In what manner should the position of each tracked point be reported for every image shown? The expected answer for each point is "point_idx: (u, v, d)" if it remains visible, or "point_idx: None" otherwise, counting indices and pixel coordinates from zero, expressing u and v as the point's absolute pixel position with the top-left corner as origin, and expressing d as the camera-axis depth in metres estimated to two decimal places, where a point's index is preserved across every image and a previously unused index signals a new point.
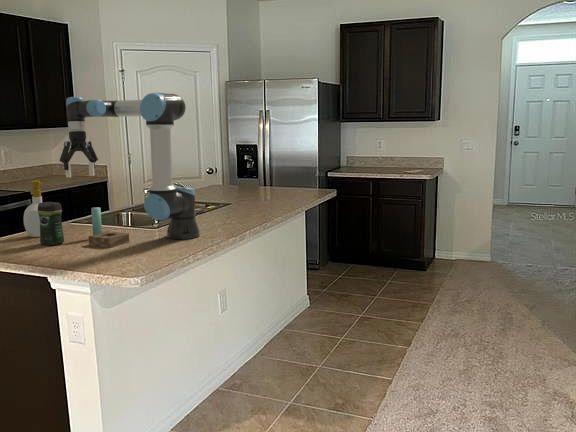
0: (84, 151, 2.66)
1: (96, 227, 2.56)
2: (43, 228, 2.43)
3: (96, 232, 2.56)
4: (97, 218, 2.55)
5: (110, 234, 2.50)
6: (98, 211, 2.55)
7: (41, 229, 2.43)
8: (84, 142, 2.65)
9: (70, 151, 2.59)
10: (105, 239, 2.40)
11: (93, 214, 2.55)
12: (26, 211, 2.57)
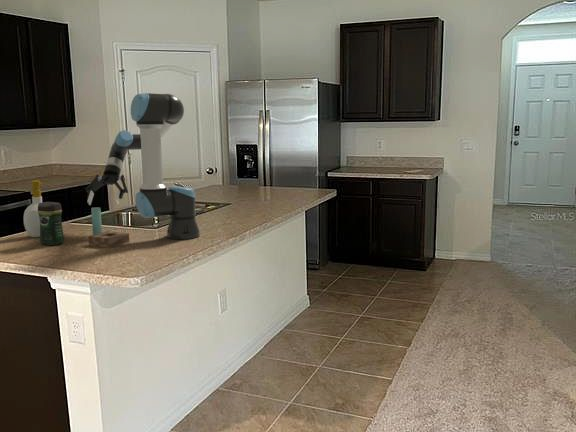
0: (114, 183, 2.71)
1: (96, 227, 2.56)
2: (43, 228, 2.43)
3: (96, 232, 2.56)
4: (97, 218, 2.55)
5: (110, 234, 2.50)
6: (98, 211, 2.55)
7: (41, 229, 2.43)
8: (115, 175, 2.73)
9: None
10: (105, 239, 2.40)
11: (93, 214, 2.55)
12: (26, 211, 2.57)
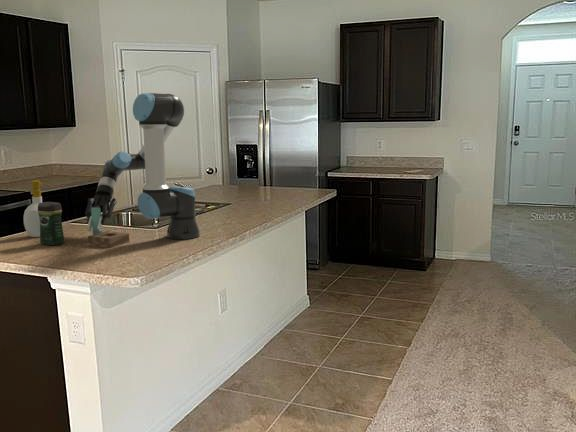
0: None
1: (96, 227, 2.56)
2: (43, 228, 2.43)
3: (96, 232, 2.56)
4: (97, 218, 2.55)
5: (110, 234, 2.50)
6: (98, 211, 2.55)
7: (41, 229, 2.43)
8: (108, 196, 2.63)
9: None
10: (105, 239, 2.40)
11: (93, 214, 2.55)
12: (26, 211, 2.57)
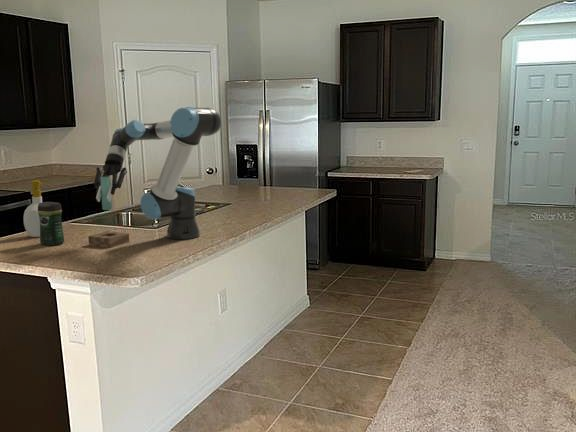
0: None
1: (106, 198, 2.42)
2: (43, 228, 2.43)
3: (106, 202, 2.42)
4: (107, 187, 2.41)
5: (110, 234, 2.50)
6: (108, 180, 2.41)
7: (41, 229, 2.43)
8: (118, 165, 2.49)
9: None
10: (105, 239, 2.40)
11: (102, 183, 2.41)
12: (26, 211, 2.57)
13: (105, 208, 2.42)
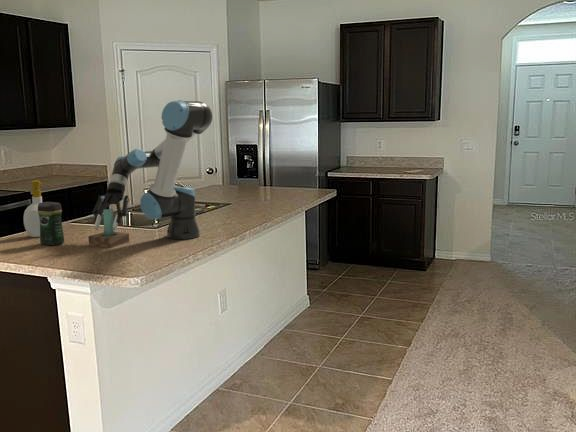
0: None
1: (108, 230, 2.44)
2: (43, 228, 2.43)
3: (108, 235, 2.44)
4: (109, 220, 2.43)
5: None
6: (110, 213, 2.43)
7: (41, 229, 2.43)
8: (120, 194, 2.51)
9: None
10: (105, 239, 2.40)
11: (105, 216, 2.43)
12: (26, 211, 2.57)
13: None
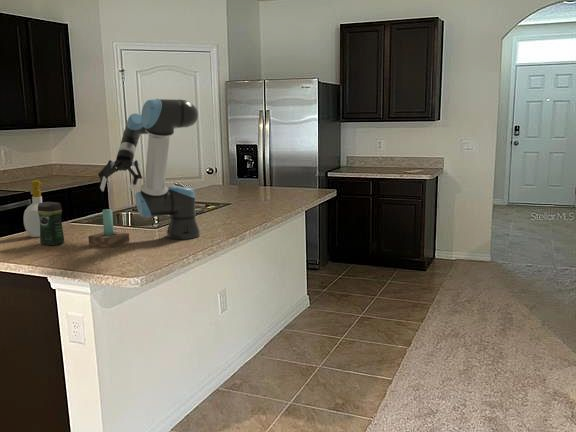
0: (128, 169, 2.62)
1: (108, 230, 2.44)
2: (43, 228, 2.43)
3: (108, 235, 2.44)
4: (109, 220, 2.44)
5: None
6: (110, 213, 2.44)
7: (41, 229, 2.43)
8: (128, 161, 2.64)
9: None
10: (105, 239, 2.40)
11: (104, 216, 2.43)
12: (26, 211, 2.57)
13: None
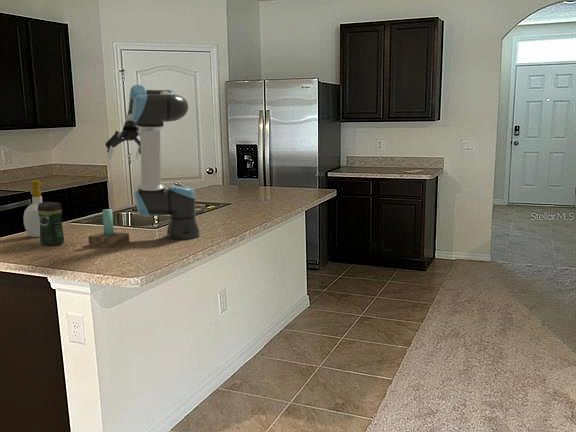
0: (134, 139, 2.73)
1: (108, 230, 2.44)
2: (43, 228, 2.43)
3: (108, 235, 2.44)
4: (109, 220, 2.44)
5: None
6: (110, 213, 2.44)
7: (41, 229, 2.43)
8: (135, 131, 2.74)
9: None
10: (105, 239, 2.40)
11: (104, 216, 2.43)
12: (26, 211, 2.57)
13: None
